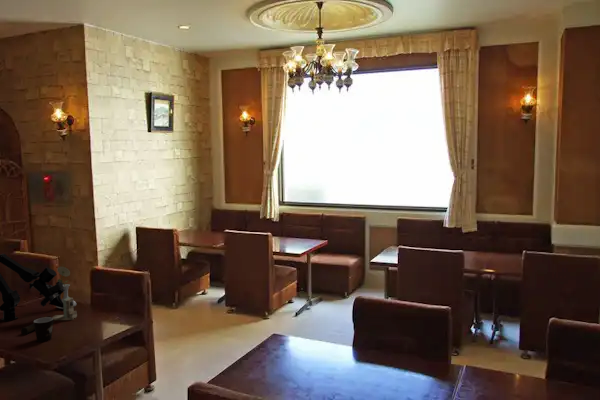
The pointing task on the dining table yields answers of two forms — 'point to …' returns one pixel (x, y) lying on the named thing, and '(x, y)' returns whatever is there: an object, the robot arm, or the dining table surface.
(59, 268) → the flower in vase
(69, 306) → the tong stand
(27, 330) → the hand tool
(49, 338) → the coffee mug
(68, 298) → the sliding jaw
